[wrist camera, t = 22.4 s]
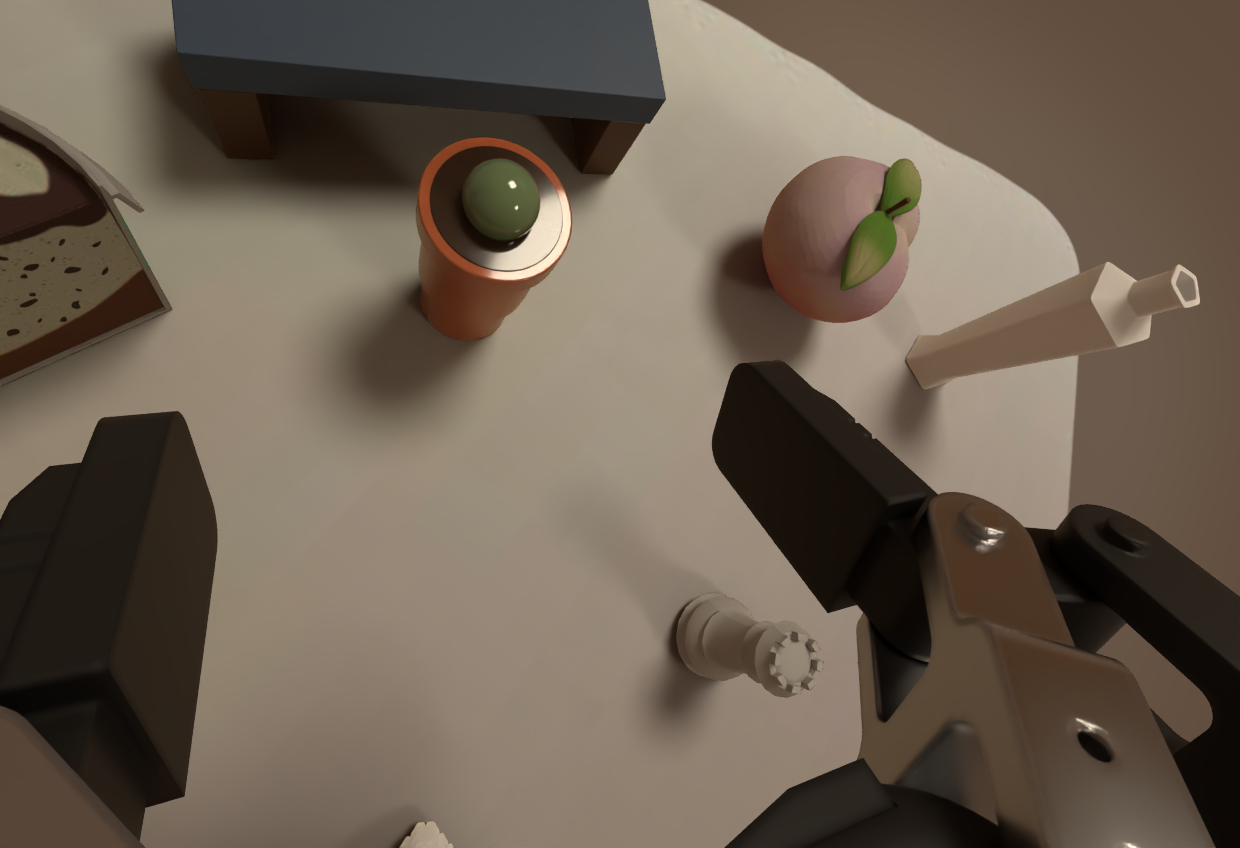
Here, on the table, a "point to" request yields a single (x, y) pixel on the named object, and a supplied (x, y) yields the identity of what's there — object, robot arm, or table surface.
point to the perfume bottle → (1054, 324)
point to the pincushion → (426, 837)
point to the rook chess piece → (746, 646)
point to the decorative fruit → (842, 236)
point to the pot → (486, 233)
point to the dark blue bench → (427, 62)
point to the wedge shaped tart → (63, 252)
